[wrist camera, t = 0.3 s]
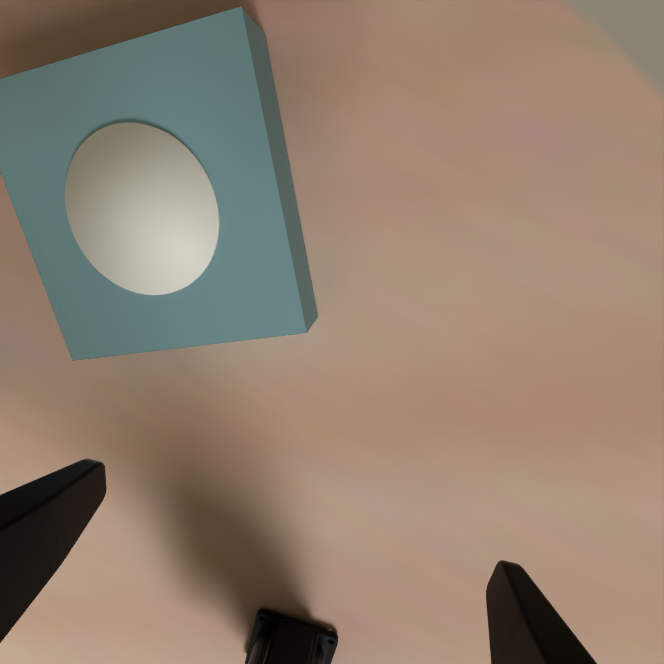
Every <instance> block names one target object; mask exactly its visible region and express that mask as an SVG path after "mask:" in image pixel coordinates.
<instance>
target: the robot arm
mask: <svg viewBox="0 0 664 664" xmlns="http://www.w3.org/2000/svg"><path fill="white" fill-rule="evenodd" d="M105 494H106V475H105V466H104V464H103V463H102V462H99V461H95V460H91V459H84V460H81V461H78V462H76V463H74V464H71V465H69V466H67V467H64V468H62V469H60V470H57V471H55V472H53V473H50V474H48V475H46V476H43V477H41V478H39V479H36V480H34V481H32V482H29V483H27V484H25V485H22V486H20V487H18V488H15V489H13V490H11V491H8V492H6V493H4V494H1V495H0V643H1V641H2V640H3V639H4V637H5V636H6V635H7V634H8V632H9V631H10V630H11V628H12V627H13V626H14V625H15V623H16V622H17V621H18V620H19V618H20V617H21V616H22V614H23V613H24V612H25V611H26V609H27V608H28V607H29V605H30V604H31V603H32V602H33V600H34V599H35V598H36V596H37V595H38V594H39V593H40V591H41V590H42V589H43V587H44V586H45V585H46V584H47V582H48V581H49V580H50V578H51V577H52V576H53V575H54V573H55V572H56V571H57V569H58V568H59V567H60V565H61V564H62V562H63V561H64V559H65V558H66V557H67V555H68V554H69V552H70V551H71V549H72V547H73V546H74V544H75V543H76V541H77V540H78V538H79V537H80V535H81V534H82V532H83V530H84V529H85V527H86V526H87V524H88V523H89V521H90V520H91V518H92V517H93V515H94V513H95V512H96V510H97V509H98V507H99V506H100V504H101V503H102V501H103V499H104V497H105ZM486 603H487V615H488V628H489V640H490V652H491V664H597V663H596V662H595V660H594V659H593V658H592V657H591V655H590V654H589V653H588V651H587V650H586V649H585V648H584V646H583V645H582V644H581V642H580V641H579V640H578V638H577V637H576V636H575V635H574V633H573V632H572V631H571V629H570V628H569V627H568V626H567V624H566V623H565V622H564V620H563V619H562V618H561V617H560V615H559V614H558V613H557V611H556V610H555V609H554V608H553V606H552V605H551V604H550V602H549V601H548V600H547V598H546V597H545V596H544V595H543V593H542V592H541V591H540V589H539V588H538V587H537V586H536V584H535V583H534V582H533V580H532V579H531V578H530V577H529V575H528V574H527V573H526V571H525V570H524V569H523V568H522V567H521V566H520V565H518V564H516V563H512V562H508V561H504V560H501V561H499V562H498V563H497V565H496V567H495V569H494V571H493V574H492V576H491V578H490V580H489V583H488V585H487V589H486ZM337 644H338V635H337V634H336V633H334V632H331V631H328V630H325V629H322V628H319V627H316V626H313V625H310V624H307V623H304V622H301V621H298V620H295V619H292V618H289V617H286V616H283V615H280V614H277V613H274V612H271V611H268V610H265V609H260V610H258V612H257V615H256V619H255V623H254V627H253V631H252V636H251V640H250V644H249V648H248V653H247V657H246V661H245V664H331V661H332V658H333V655H334V653H335V650H336V647H337Z"/></svg>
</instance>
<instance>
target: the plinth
mask: <svg viewBox="0 0 664 664" xmlns="http://www.w3.org/2000/svg"><path fill="white" fill-rule="evenodd" d="M0 172H1V175H2V177H3V180H4V182H5V185H6V188H7V190H8V193H9V196H10V198H11V201H12V203H13V206H14V209H15V211H16V214H17V216H18V219H19V222H20V224H21V227H22V229H23V232H24V235H25V237H26V240H27V242H28V245H29V248H30V250H31V253H32V256H33V258H34V261H35V263H36V266H37V269H38V271H39V274H40V276H41V279H42V282H43V284H44V287H45V289H46V292H47V295H48V297H49V300H50V302H51V305H52V308H53V310H54V313H55V316H56V318H57V321H58V323H59V326H60V329H61V331H62V334H63V336H64V339H65V342H66V344H67V347H68V349H69V352H70V355H71V357H72V360H73V361H74V360H82V359H91V358H99V357H108V356H116V355H124V354H133V353H141V352H150V351H158V350H167V349H175V348H184V347H192V346H201V345H209V344H218V343H226V342H235V341H243V340H252V339H260V338H269V337H277V336H285V335H294V334H302V333H307V332H308V330H309V329H310V327H311V326H312V325H313V323H314V322H315V320H316V319H317V317H318V313H317V308H316V303H315V298H314V292H313V287H312V282H311V276H310V271H309V266H308V260H307V255H306V250H305V244H304V239H303V234H302V228H301V223H300V218H299V212H298V207H297V202H296V197H295V191H294V186H293V181H292V175H291V170H290V165H289V159H288V154H287V149H286V143H285V138H284V133H283V127H282V122H281V117H280V111H279V106H278V101H277V96H276V90H275V85H274V80H273V74H272V69H271V64H270V58H269V53H268V48H267V42H266V37H265V34H264V33H263V32H262V30H261V29H260V28H259V27H258V26H257V24H256V23H255V22H254V21H253V19H252V18H251V17H250V16H249V15H248V13H247V12H246V11H245V10H244V8H243V7H242V6H240V7H237V8H234V9H230V10H227V11H224V12H220V13H217V14H214V15H210V16H207V17H204V18H200V19H197V20H194V21H191V22H187V23H184V24H181V25H177V26H174V27H171V28H167V29H164V30H161V31H157V32H154V33H151V34H147V35H144V36H141V37H137V38H134V39H131V40H127V41H124V42H121V43H118V44H114V45H111V46H108V47H104V48H101V49H98V50H94V51H91V52H88V53H84V54H81V55H78V56H74V57H71V58H68V59H64V60H61V61H58V62H54V63H51V64H48V65H45V66H41V67H38V68H35V69H31V70H28V71H25V72H21V73H18V74H15V75H11V76H8V77H5V78H1V79H0Z"/></svg>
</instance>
